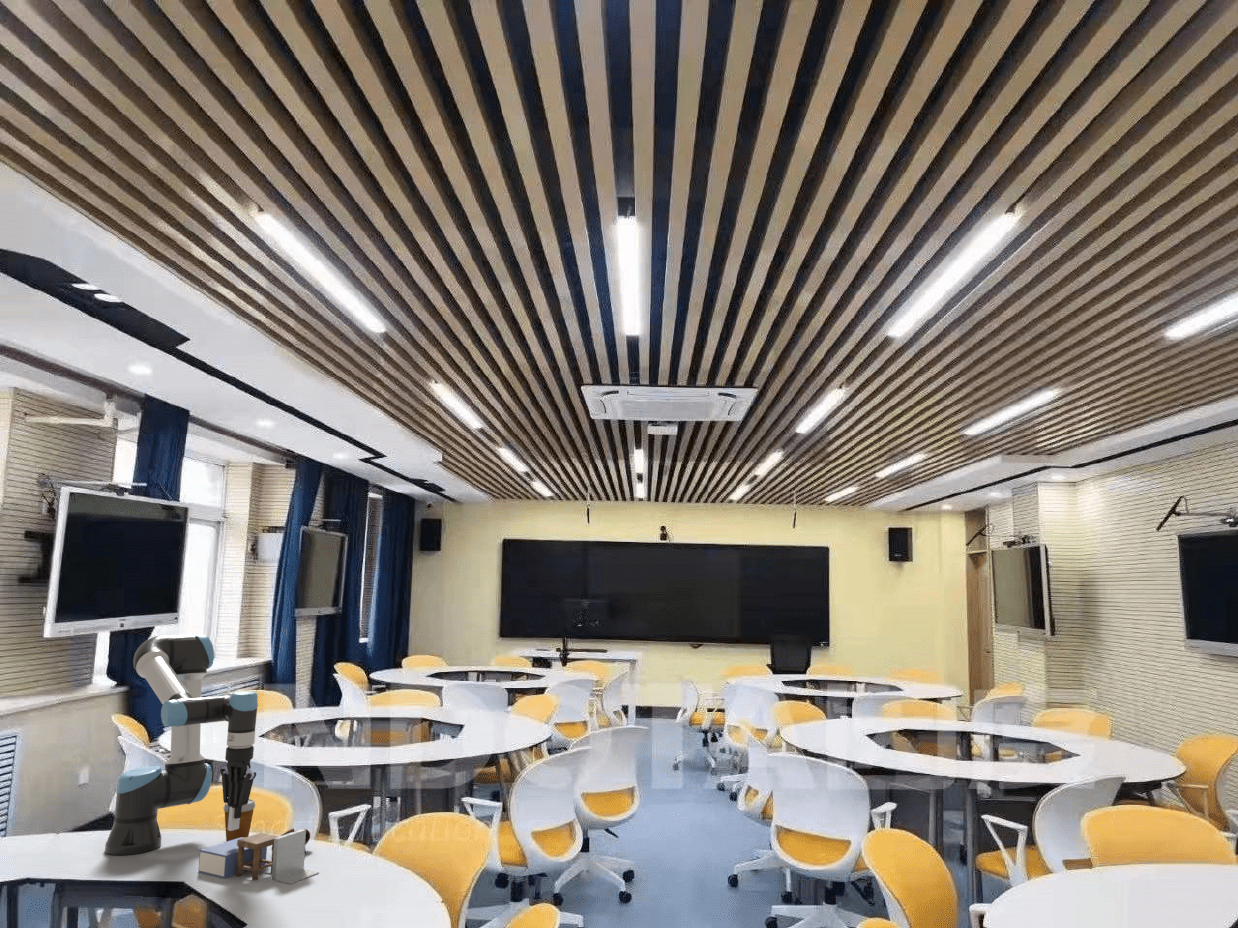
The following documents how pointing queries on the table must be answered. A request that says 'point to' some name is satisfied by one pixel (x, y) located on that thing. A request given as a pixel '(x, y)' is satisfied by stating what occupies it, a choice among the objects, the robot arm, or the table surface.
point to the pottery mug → (306, 835)
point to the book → (224, 859)
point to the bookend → (290, 858)
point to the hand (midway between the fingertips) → (233, 829)
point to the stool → (257, 844)
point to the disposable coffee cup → (244, 821)
